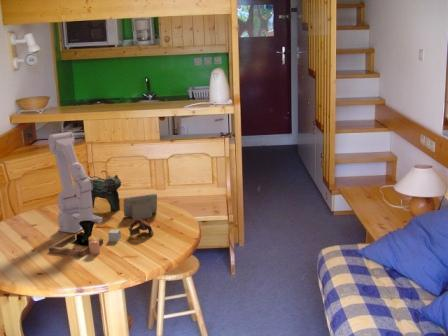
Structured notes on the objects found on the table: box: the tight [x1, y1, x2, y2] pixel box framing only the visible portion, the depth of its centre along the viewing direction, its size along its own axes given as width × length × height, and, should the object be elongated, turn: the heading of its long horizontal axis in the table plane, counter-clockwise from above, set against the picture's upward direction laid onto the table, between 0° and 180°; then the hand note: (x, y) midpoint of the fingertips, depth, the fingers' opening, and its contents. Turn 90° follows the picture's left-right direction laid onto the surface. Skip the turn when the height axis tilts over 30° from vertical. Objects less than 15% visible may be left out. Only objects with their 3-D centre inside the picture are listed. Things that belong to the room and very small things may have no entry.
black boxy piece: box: [70, 231, 90, 247], centre depth 236 cm, size 12×7×5 cm, turn 63°
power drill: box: [89, 170, 122, 212], centre depth 275 cm, size 20×6×20 cm, turn 69°
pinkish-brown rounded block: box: [89, 239, 101, 256], centre depth 224 cm, size 4×4×5 cm
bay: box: [48, 233, 104, 258], centre depth 231 cm, size 16×15×2 cm
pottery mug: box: [128, 218, 154, 237], centre depth 242 cm, size 12×10×8 cm
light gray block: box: [107, 228, 122, 243], centre depth 238 cm, size 4×4×4 cm
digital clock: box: [123, 193, 158, 221], centre depth 264 cm, size 16×9×11 cm, turn 98°
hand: (88, 236), depth 238 cm, fingers closed
